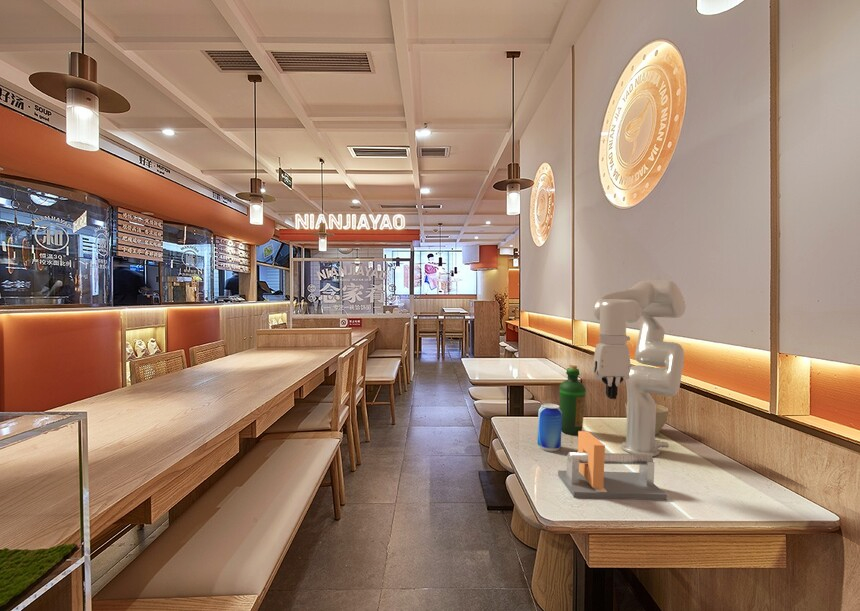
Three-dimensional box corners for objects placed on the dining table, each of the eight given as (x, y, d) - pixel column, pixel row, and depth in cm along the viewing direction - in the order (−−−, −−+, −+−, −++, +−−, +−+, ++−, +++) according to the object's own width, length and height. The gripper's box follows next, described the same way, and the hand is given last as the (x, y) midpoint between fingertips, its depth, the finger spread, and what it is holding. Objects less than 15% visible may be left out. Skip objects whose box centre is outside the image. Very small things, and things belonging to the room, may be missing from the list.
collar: (586, 469, 124) (588, 431, 124) (603, 487, 112) (604, 445, 112) (577, 469, 124) (578, 431, 124) (592, 487, 112) (594, 445, 112)
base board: (640, 477, 125) (640, 472, 125) (666, 499, 111) (666, 493, 111) (557, 475, 125) (558, 469, 125) (573, 497, 111) (574, 491, 111)
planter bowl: (627, 423, 181) (628, 399, 181) (668, 430, 172) (669, 406, 172) (621, 432, 168) (622, 407, 168) (665, 441, 159) (666, 414, 159)
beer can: (557, 444, 152) (559, 403, 152) (563, 453, 144) (564, 409, 143) (535, 443, 153) (536, 402, 153) (539, 451, 145) (540, 408, 144)
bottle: (588, 436, 162) (590, 368, 161) (562, 436, 162) (564, 367, 162) (579, 428, 173) (581, 364, 172) (554, 427, 173) (556, 363, 172)
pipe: (645, 479, 120) (646, 451, 120) (653, 486, 116) (654, 456, 116) (566, 477, 121) (567, 449, 120) (571, 484, 116) (572, 454, 116)
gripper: (630, 338, 128) (628, 394, 129) (584, 338, 128) (583, 394, 129) (642, 341, 121) (641, 401, 122) (593, 341, 120) (592, 401, 121)
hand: (611, 397), depth 125 cm, fingers closed
